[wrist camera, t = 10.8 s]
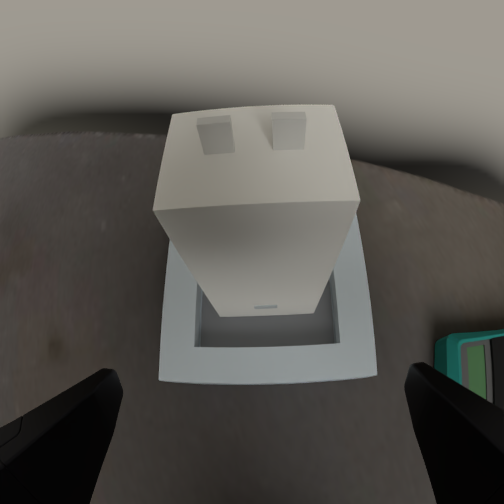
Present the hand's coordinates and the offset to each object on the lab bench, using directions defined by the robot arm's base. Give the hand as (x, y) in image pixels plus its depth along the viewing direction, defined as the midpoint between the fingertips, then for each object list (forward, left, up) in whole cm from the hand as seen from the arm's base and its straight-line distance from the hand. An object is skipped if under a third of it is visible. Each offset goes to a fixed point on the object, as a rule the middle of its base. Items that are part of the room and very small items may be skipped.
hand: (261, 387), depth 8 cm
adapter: (+6, +3, -9) cm, 11 cm away
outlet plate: (+6, +3, -10) cm, 12 cm away
